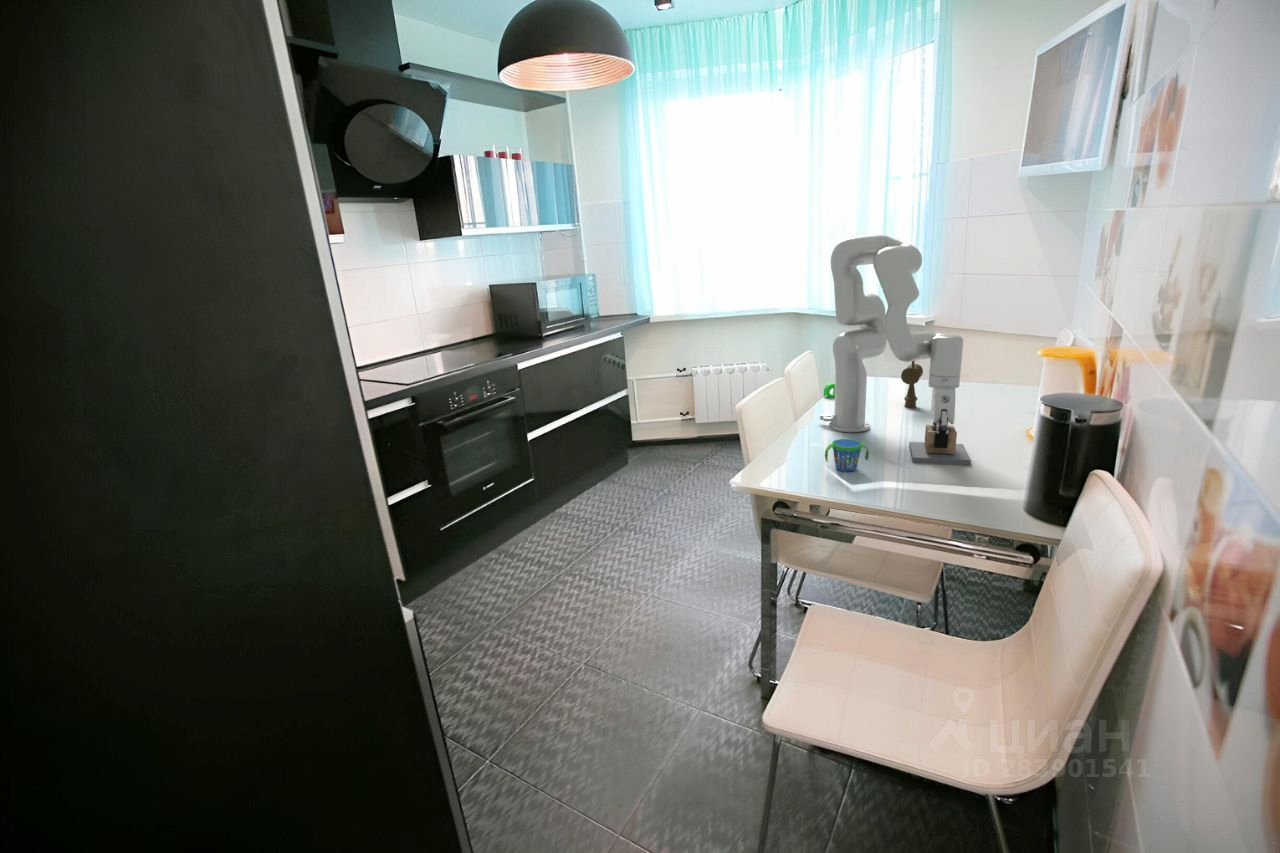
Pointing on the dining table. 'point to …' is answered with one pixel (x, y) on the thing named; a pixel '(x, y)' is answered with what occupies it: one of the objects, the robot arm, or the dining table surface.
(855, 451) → the snack cup
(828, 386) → the mechanical part
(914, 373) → the kendama
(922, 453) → the board
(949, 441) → the brown wooden square box
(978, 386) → the dining table surface
